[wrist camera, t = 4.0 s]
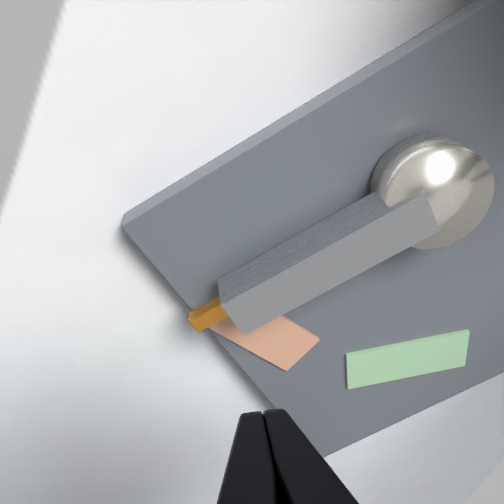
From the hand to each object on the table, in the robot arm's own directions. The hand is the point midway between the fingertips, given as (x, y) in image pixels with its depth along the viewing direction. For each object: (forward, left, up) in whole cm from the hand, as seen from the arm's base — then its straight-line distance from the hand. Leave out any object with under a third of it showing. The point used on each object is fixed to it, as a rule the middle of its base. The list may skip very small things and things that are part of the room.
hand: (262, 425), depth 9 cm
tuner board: (-6, +8, -12) cm, 16 cm away
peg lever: (-3, +4, -11) cm, 12 cm away
